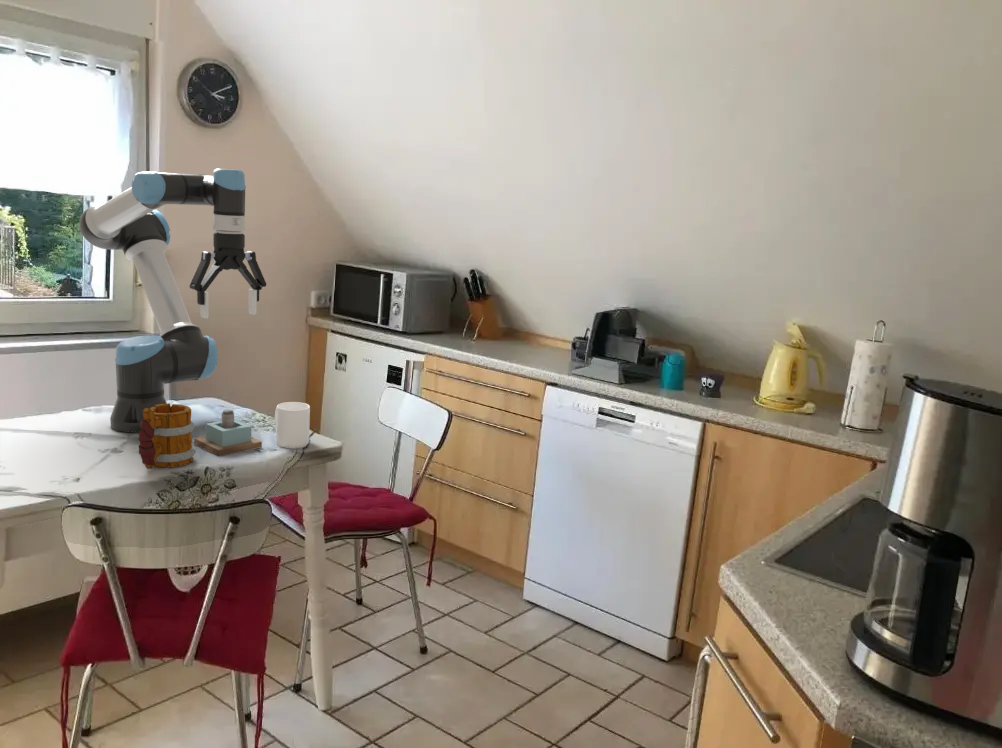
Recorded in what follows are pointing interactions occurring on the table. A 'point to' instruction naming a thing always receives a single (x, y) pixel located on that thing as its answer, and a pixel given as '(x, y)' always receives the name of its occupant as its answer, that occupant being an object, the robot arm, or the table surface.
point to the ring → (228, 433)
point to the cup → (292, 424)
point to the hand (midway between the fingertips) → (229, 316)
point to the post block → (219, 450)
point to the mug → (166, 436)
